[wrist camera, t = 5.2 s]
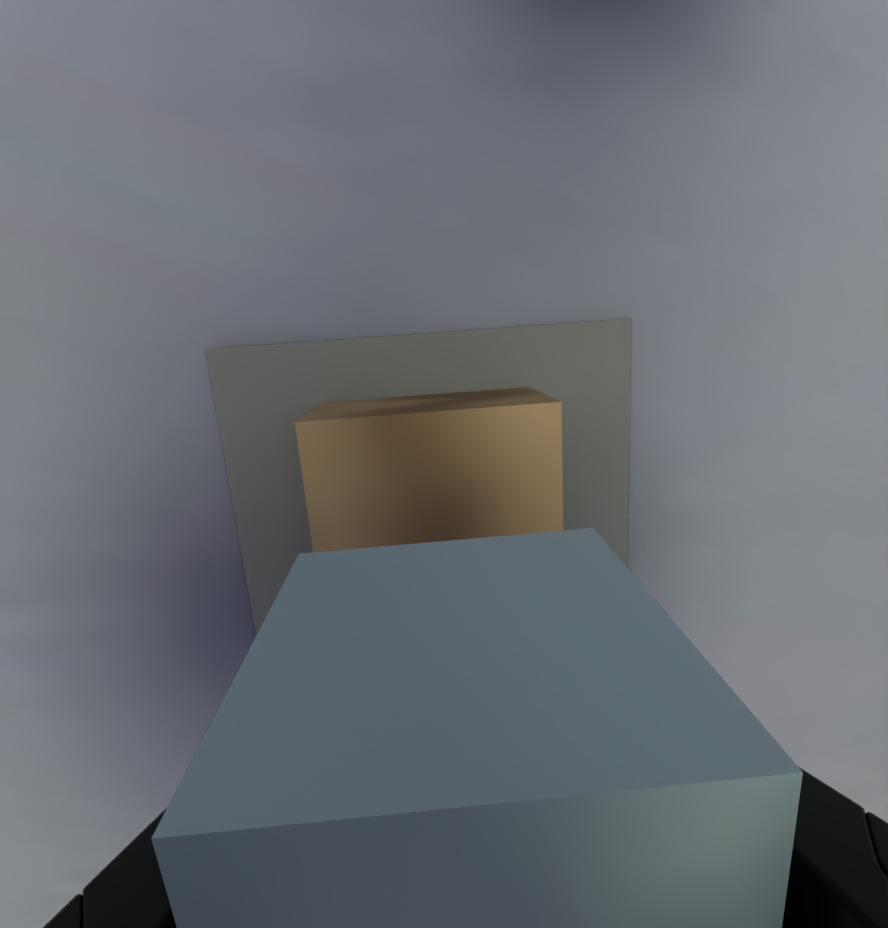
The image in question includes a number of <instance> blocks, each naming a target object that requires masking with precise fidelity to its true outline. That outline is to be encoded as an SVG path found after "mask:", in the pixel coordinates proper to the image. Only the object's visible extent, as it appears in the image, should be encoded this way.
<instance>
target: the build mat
mask: <svg viewBox="0 0 888 928" xmlns="http://www.w3.org/2000/svg"><path fill="white" fill-rule="evenodd" d="M631 345H632V318H630V319H616V320H602V321H589V322H575V323H561V324H547V325H533V326H519V327H505V328H491V329H477V330H464V331H450V332H436V333H422V334H408V335H394V336H380V337H366V338H353V339H339V340H325V341H311V342H297V343H283V344H269V345H255V346H242V347H228V348H214V349H205V354H206V359H207V365H208V370H209V376H210V382H211V387H212V393H213V398H214V404H215V410H216V415H217V421H218V426H219V432H220V437H221V443H222V449H223V454H224V460H225V465H226V471H227V477H228V482H229V488H230V493H231V499H232V504H233V510H234V516H235V521H236V527H237V532H238V538H239V544H240V549H241V555H242V560H243V566H244V571H245V577H246V583H247V588H248V594H249V599H250V605H251V611H252V616H253V622H254V627H255V633H256V636H257V634H258V632H259V630H260V628H261V626H262V624H263V622H264V620H265V618H266V616H267V614H268V612H269V610H270V609H271V607H272V605H273V603H274V601H275V599H276V597H277V595H278V593H279V591H280V589H281V587H282V585H283V583H284V582H285V580H286V578H287V576H288V574H289V572H290V570H291V568H292V566H293V564H294V562H295V560H296V558H297V556H298V555H299V554H302V553H313V547H312V540H311V533H310V526H309V519H308V512H307V505H306V498H305V491H304V484H303V477H302V470H301V463H300V456H299V449H298V442H297V435H296V428H295V422H296V421H297V420H299V419H300V418H301V417H303V416H304V415H306V414H307V413H308V412H310V411H311V410H312V409H314V408H315V407H316V406H318V405H319V404H321V403H324V402H337V401H350V400H363V399H376V398H389V397H402V396H416V395H429V394H442V393H455V392H468V391H481V390H494V389H507V388H521V387H531V388H533V389H535V390H537V391H539V392H541V393H544V394H546V395H548V396H550V397H552V398H554V399H557V400H559V401H561V407H562V477H563V531H564V530H576V529H587V528H594V529H595V530H596V532H597V533H598V534H599V535H600V536H601V537H602V539H603V540H604V541H605V542H606V543H607V544H608V546H609V547H610V548H611V549H612V550H613V551H614V553H615V554H616V555H617V556H618V557H619V558H620V560H621V561H622V562H623V563H624V564H625V565H626V567H627V561H628V507H629V453H630V399H631Z"/></svg>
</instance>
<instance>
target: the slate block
mask: <svg viewBox="0 0 888 928" xmlns="http://www.w3.org/2000/svg"><path fill="white" fill-rule="evenodd" d="M802 775H803V772H802V771H801V770H800V768H799V767H798V766H797V765H796V764H795V763H794V761H793V760H792V759H791V758H790V757H789V756H788V754H787V753H786V752H785V751H784V750H783V749H782V747H781V746H780V745H779V744H778V743H777V742H776V740H775V739H774V738H773V737H772V736H771V735H770V733H769V732H768V731H767V730H766V729H765V728H764V726H763V725H762V724H761V723H760V722H759V721H758V719H757V718H756V717H755V716H754V715H753V714H752V712H751V711H750V710H749V709H748V708H747V707H746V705H745V704H744V703H743V702H742V701H741V700H740V698H739V697H738V696H737V695H736V694H735V693H734V691H733V690H732V689H731V688H730V687H729V686H728V684H727V683H726V682H725V681H724V680H723V679H722V677H721V676H720V675H719V674H718V673H717V672H716V670H715V669H714V668H713V667H712V666H711V665H710V663H709V662H708V661H707V660H706V659H705V658H704V656H703V655H702V654H701V653H700V652H699V651H698V649H697V648H696V647H695V646H694V645H693V644H692V642H691V641H690V640H689V639H688V638H687V637H686V635H685V634H684V633H683V632H682V631H681V630H680V628H679V627H678V626H677V625H676V624H675V623H674V621H673V620H672V619H671V618H670V617H669V616H668V614H667V613H666V612H665V611H664V610H663V609H662V607H661V606H660V605H659V604H658V603H657V602H656V600H655V599H654V598H653V597H652V596H651V595H650V593H649V592H648V591H647V590H646V589H645V588H644V586H643V585H642V584H641V583H640V582H639V581H638V579H637V578H636V577H635V576H634V575H633V574H632V572H631V571H630V570H629V569H628V568H627V567H626V565H625V564H624V563H623V562H622V561H621V560H620V558H619V557H618V556H617V555H616V554H615V553H614V551H613V550H612V549H611V548H610V547H609V546H608V544H607V543H606V542H605V541H604V540H603V539H602V537H601V536H600V535H599V534H598V533H597V532H596V530H595V529H594V528H587V529H576V530H564V531H553V532H541V533H530V534H519V535H507V536H496V537H484V538H473V539H461V540H450V541H439V542H427V543H416V544H404V545H393V546H382V547H370V548H359V549H347V550H336V551H325V552H313V553H302V554H299V555H298V556H297V558H296V560H295V562H294V564H293V566H292V568H291V570H290V572H289V574H288V576H287V578H286V580H285V582H284V583H283V585H282V587H281V589H280V591H279V593H278V595H277V597H276V599H275V601H274V603H273V605H272V607H271V609H270V610H269V612H268V614H267V616H266V618H265V620H264V622H263V624H262V626H261V628H260V630H259V632H258V634H257V636H256V637H255V639H254V641H253V643H252V645H251V647H250V649H249V651H248V653H247V655H246V657H245V659H244V661H243V663H242V665H241V666H240V668H239V670H238V672H237V674H236V676H235V678H234V680H233V682H232V684H231V686H230V688H229V690H228V692H227V693H226V695H225V697H224V699H223V701H222V703H221V705H220V707H219V709H218V711H217V713H216V715H215V717H214V719H213V720H212V722H211V724H210V726H209V728H208V730H207V732H206V734H205V736H204V738H203V740H202V742H201V744H200V746H199V747H198V749H197V751H196V753H195V755H194V757H193V759H192V761H191V763H190V765H189V767H188V769H187V771H186V773H185V774H184V776H183V778H182V780H181V782H180V784H179V786H178V788H177V790H176V792H175V794H174V796H173V798H172V800H171V801H170V803H169V805H168V807H167V809H166V811H165V813H164V815H163V817H162V819H161V821H160V823H159V825H158V827H157V828H156V830H155V832H154V834H153V836H152V838H151V840H152V843H153V847H154V850H155V854H156V857H157V860H158V864H159V867H160V871H161V874H162V878H163V881H164V885H165V888H166V892H167V895H168V899H169V902H170V906H171V909H172V913H173V916H174V920H175V923H176V927H177V928H782V923H783V916H784V908H785V901H786V894H787V886H788V879H789V871H790V864H791V857H792V849H793V842H794V835H795V827H796V820H797V812H798V805H799V798H800V790H801V783H802Z"/></svg>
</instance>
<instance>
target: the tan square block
mask: <svg viewBox="0 0 888 928" xmlns="http://www.w3.org/2000/svg"><path fill="white" fill-rule="evenodd" d="M295 428H296V435H297V442H298V449H299V456H300V463H301V470H302V477H303V484H304V491H305V498H306V505H307V512H308V519H309V526H310V533H311V540H312V547H313V552H325V551H336V550H347V549H359V548H370V547H382V546H393V545H404V544H416V543H427V542H439V541H450V540H461V539H473V538H484V537H496V536H507V535H519V534H530V533H541V532H553V531H563V477H562V407H561V401H559V400H557V399H554V398H552V397H550V396H548V395H546V394H544V393H541V392H539V391H537V390H535V389H533V388H531V387H521V388H507V389H494V390H481V391H468V392H455V393H442V394H429V395H416V396H402V397H389V398H376V399H363V400H350V401H337V402H324V403H321V404H319V405H318V406H316V407H315V408H314V409H312V410H311V411H310V412H308V413H307V414H306V415H304V416H303V417H301V418H300V419H299V420H297V421H296V422H295Z"/></svg>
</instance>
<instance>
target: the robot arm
mask: <svg viewBox="0 0 888 928" xmlns="http://www.w3.org/2000/svg"><path fill="white" fill-rule="evenodd" d="M799 768H800V767H799ZM800 770H801V771H802V772H803V775H802V783H801V790H800V798H799V805H798V812H797V820H796V827H795V835H794V842H793V849H792V857H791V864H790V871H789V879H788V886H787V894H786V901H785V908H784V916H783V923H782V928H888V823H887V822H885V821H884V820H882V819H880V818H879V817H877V816H876V815H874V814H873V813H871V812H867V813H866V814H865V811H864V809H863V808H862V807H861V806H860V805H858V804H856V803H855V802H853V801H852V800H850V799H849V798H847V797H845V796H844V795H842V794H841V793H839V792H837V791H836V790H834V789H833V788H831V787H830V786H828V785H826V784H825V783H823V782H822V781H820V780H819V779H817V778H815V777H814V776H812V775H811V774H809V773H807V772H806V771H804V770H803V769H801V768H800ZM166 809H167V808H166ZM166 809H165V810H164V811H163V812H162V813H161V814H160V815H159V816H158V817H157V818H156V819H155V820H154V821H153V822H152V823H150V824H149V825H148V826H147V827H146V828H145V829H144V830H143V831H142V832H141V833H140V834H139V835H138V836H137V837H136V838H135V839H134V840H133V841H132V842H131V843H130V844H129V845H128V846H127V847H126V848H125V849H124V850H123V851H122V852H121V853H120V854H119V855H118V856H116V857H115V858H114V859H113V860H112V861H111V862H110V863H109V864H108V865H107V866H106V867H105V868H104V869H103V870H102V871H101V872H100V873H99V874H98V875H97V876H96V877H95V878H94V879H93V880H92V881H91V882H90V883H89V884H88V885H87V886H86V887H85V888H84V889H83V896H82V895H81V894H78V895H76V896H75V897H74V898H73V899H72V900H71V901H70V902H69V903H68V904H67V905H66V906H65V907H64V908H63V909H62V910H61V911H60V912H59V913H57V914H56V915H55V916H54V917H53V918H52V919H51V920H50V921H49V922H48V923H47V924H46V925H45V926H44V927H43V928H177V927H176V923H175V920H174V916H173V913H172V909H171V906H170V902H169V899H168V895H167V892H166V888H165V885H164V881H163V878H162V874H161V871H160V867H159V864H158V860H157V857H156V854H155V850H154V847H153V843H152V840H151V838H152V836H153V834H154V832H155V830H156V828H157V827H158V825H159V823H160V821H161V819H162V817H163V815H164V813H165V811H166Z"/></svg>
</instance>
